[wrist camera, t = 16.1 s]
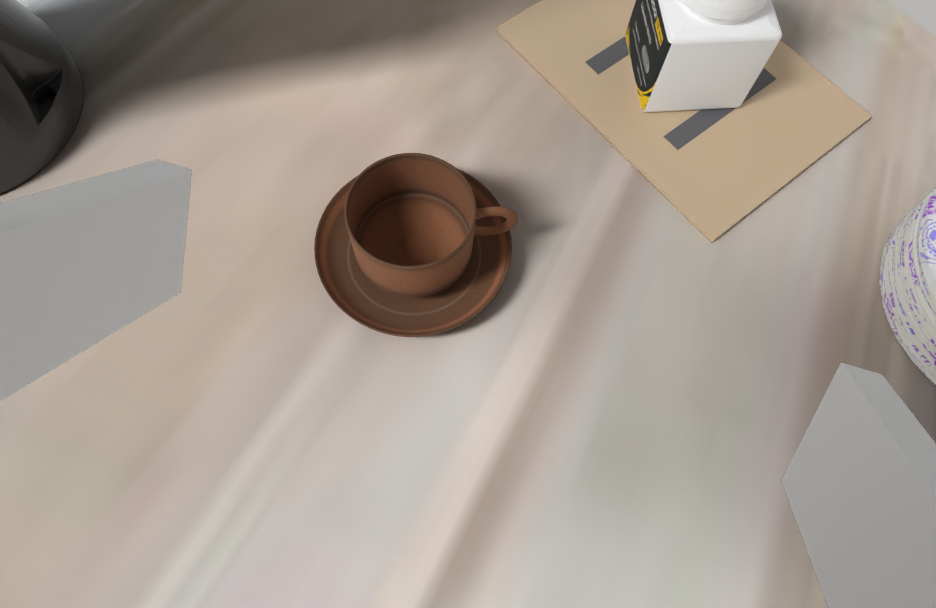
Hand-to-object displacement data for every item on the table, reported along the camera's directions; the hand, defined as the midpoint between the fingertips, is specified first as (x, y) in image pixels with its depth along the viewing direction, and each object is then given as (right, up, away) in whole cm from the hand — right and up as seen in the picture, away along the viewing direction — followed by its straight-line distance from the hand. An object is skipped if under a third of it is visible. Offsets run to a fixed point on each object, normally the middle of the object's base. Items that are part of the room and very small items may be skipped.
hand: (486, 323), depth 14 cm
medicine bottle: (+15, +17, +37) cm, 44 cm away
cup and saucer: (-4, +3, +32) cm, 32 cm away
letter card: (+15, +17, +38) cm, 44 cm away
